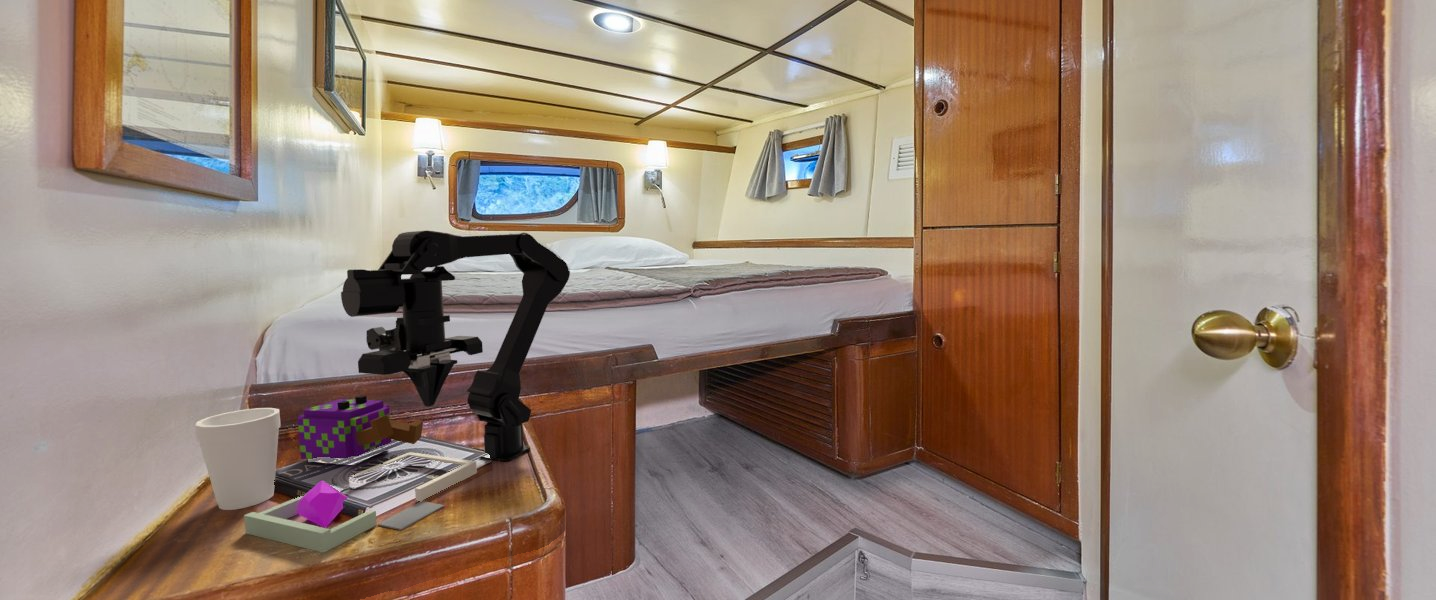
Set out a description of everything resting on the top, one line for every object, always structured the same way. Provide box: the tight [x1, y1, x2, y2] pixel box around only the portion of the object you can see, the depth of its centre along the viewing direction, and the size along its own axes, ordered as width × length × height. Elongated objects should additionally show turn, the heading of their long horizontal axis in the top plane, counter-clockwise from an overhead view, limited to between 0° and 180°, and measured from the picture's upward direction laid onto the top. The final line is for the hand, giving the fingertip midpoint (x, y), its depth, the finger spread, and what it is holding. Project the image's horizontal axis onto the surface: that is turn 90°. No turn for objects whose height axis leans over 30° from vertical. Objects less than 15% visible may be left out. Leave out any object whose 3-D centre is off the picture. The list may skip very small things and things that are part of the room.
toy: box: [297, 395, 424, 460], centre depth 96 cm, size 10×11×20 cm
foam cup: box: [195, 407, 282, 511], centre depth 79 cm, size 10×9×13 cm
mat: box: [377, 500, 445, 531], centre depth 74 cm, size 7×4×1 cm, turn 161°
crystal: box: [296, 480, 349, 528], centre depth 74 cm, size 5×5×5 cm
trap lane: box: [243, 451, 478, 553], centre depth 79 cm, size 25×15×2 cm, turn 161°
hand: (429, 405), depth 85 cm, fingers closed
